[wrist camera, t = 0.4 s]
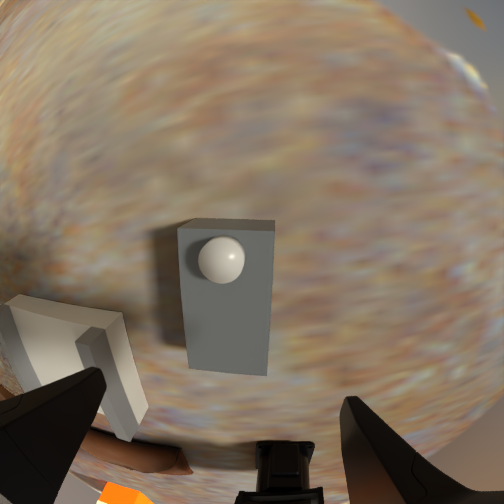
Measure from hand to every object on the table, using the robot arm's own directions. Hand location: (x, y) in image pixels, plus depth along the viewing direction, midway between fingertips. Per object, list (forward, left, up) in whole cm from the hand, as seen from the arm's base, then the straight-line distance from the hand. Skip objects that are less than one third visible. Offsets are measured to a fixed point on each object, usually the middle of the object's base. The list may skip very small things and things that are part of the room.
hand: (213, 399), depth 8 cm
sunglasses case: (-28, +17, -13) cm, 35 cm away
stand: (-10, +19, -12) cm, 24 cm away
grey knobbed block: (-1, +1, -12) cm, 12 cm away
